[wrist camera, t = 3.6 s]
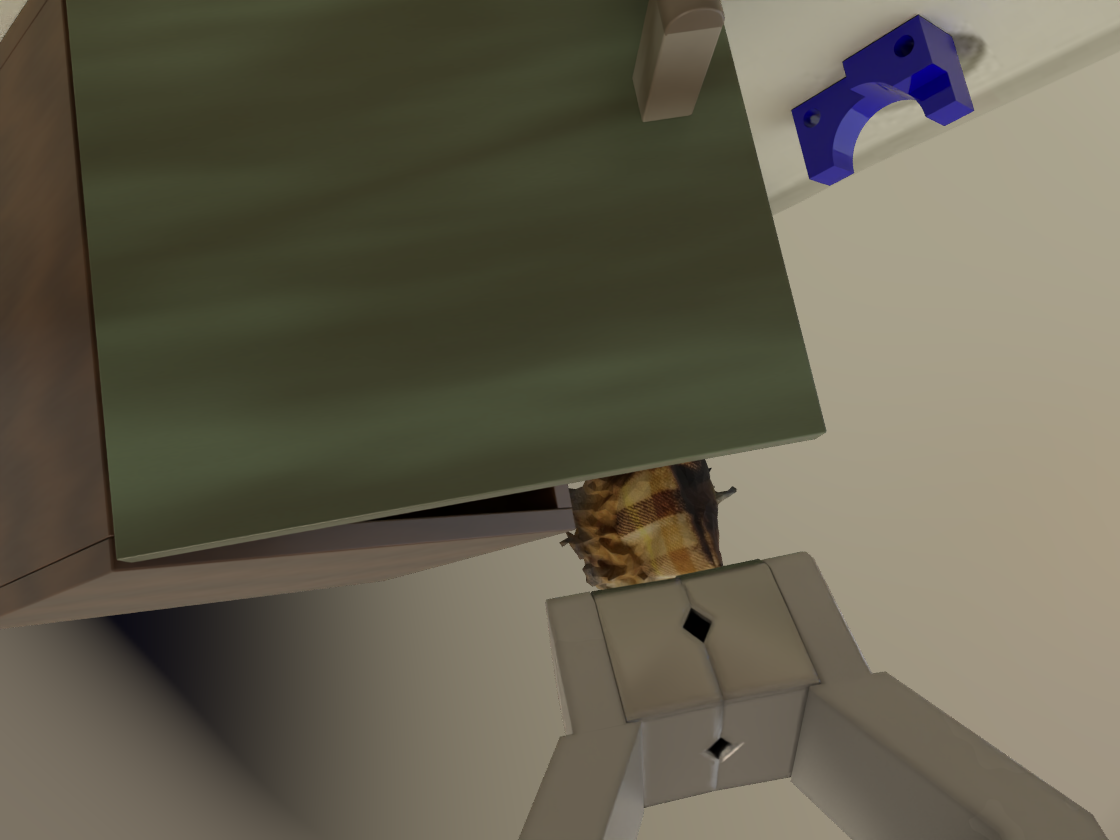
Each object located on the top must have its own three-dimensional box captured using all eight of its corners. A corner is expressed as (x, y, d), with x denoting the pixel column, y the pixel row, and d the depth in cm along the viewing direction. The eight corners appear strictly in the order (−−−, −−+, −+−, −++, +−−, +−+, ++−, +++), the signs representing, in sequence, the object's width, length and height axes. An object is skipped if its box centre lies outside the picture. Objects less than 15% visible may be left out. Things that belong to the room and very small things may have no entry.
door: (-40, -216, 24) (11, 544, 20) (715, -301, 26) (902, 386, 22) (74, -45, 30) (130, 563, 26) (677, -122, 32) (816, 438, 28)
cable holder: (918, 15, 43) (941, 92, 42) (951, 36, 45) (974, 110, 44) (775, 103, 48) (793, 173, 48) (811, 118, 51) (829, 185, 50)
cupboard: (57, -46, 30) (112, 572, 26) (498, 121, 45) (577, 529, 41) (-73, 151, 39) (-46, 635, 35) (332, 236, 54) (383, 581, 50)
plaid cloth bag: (756, 222, 61) (816, 601, 52) (572, 282, 67) (595, 633, 57) (676, 93, 50) (735, 551, 40) (462, 179, 55) (469, 597, 46)
